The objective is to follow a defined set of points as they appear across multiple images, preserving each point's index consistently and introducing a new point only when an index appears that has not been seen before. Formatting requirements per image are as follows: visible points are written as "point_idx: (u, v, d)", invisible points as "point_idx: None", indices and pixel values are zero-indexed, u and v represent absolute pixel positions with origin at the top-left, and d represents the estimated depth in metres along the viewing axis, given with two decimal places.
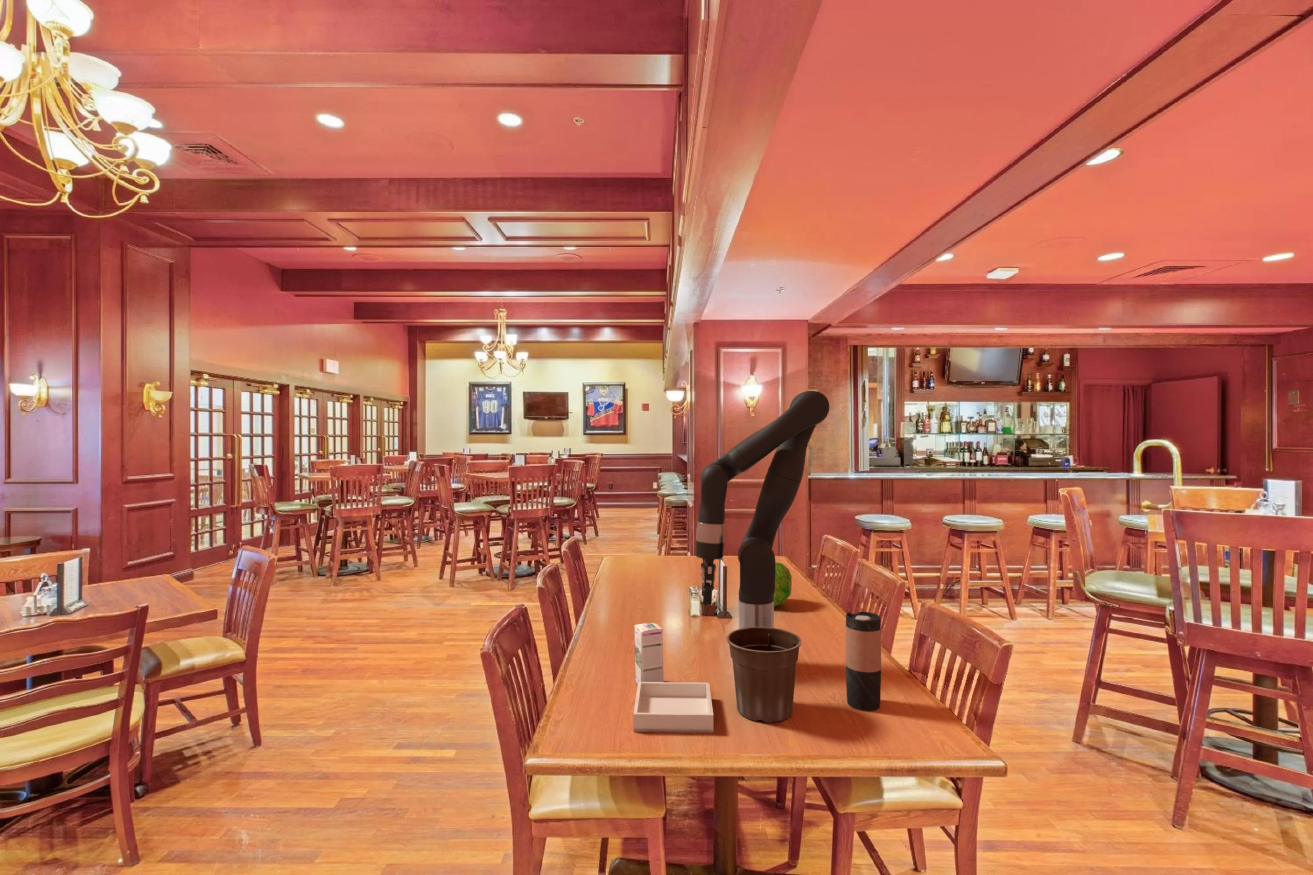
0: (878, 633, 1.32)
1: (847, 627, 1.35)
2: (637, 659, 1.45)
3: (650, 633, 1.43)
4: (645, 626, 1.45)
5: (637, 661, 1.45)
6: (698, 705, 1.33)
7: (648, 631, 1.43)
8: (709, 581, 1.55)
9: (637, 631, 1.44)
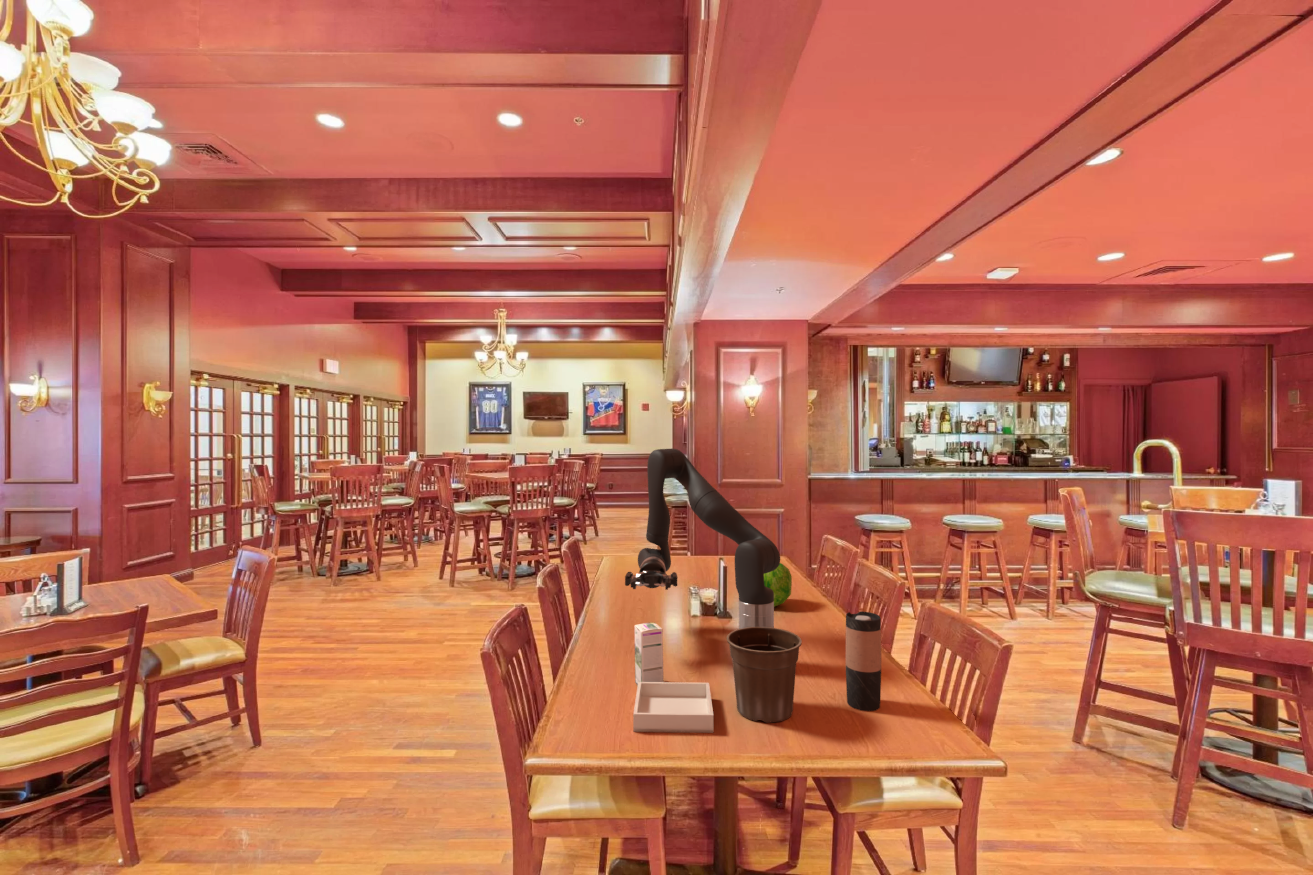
0: (878, 633, 1.32)
1: (847, 627, 1.35)
2: (637, 659, 1.45)
3: (650, 633, 1.43)
4: (645, 626, 1.45)
5: (637, 661, 1.45)
6: (698, 705, 1.33)
7: (648, 631, 1.43)
8: (637, 578, 1.63)
9: (637, 631, 1.44)
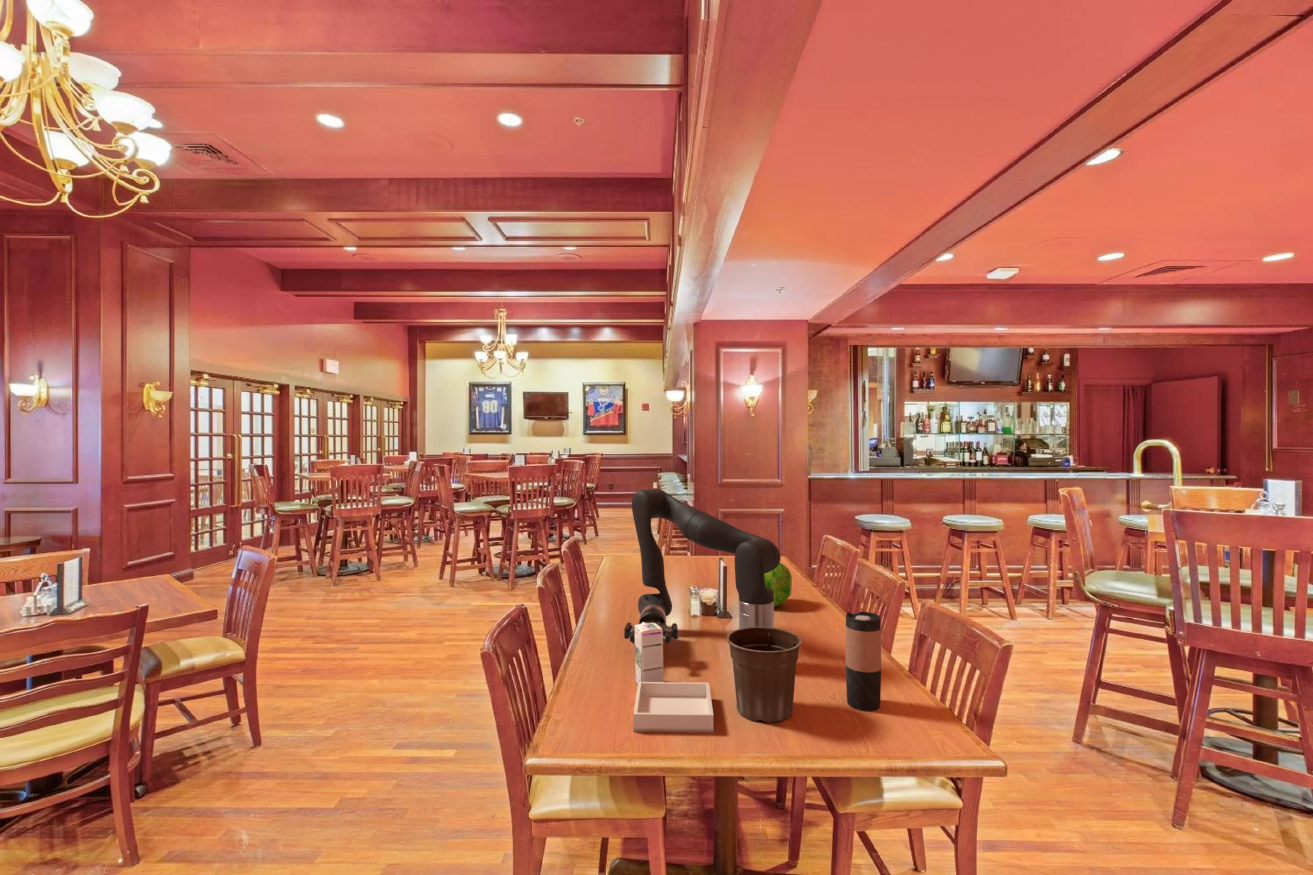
0: (878, 633, 1.32)
1: (847, 627, 1.35)
2: (637, 659, 1.45)
3: (650, 633, 1.43)
4: (645, 626, 1.45)
5: (637, 661, 1.45)
6: (698, 705, 1.33)
7: (648, 631, 1.43)
8: None
9: (637, 631, 1.44)
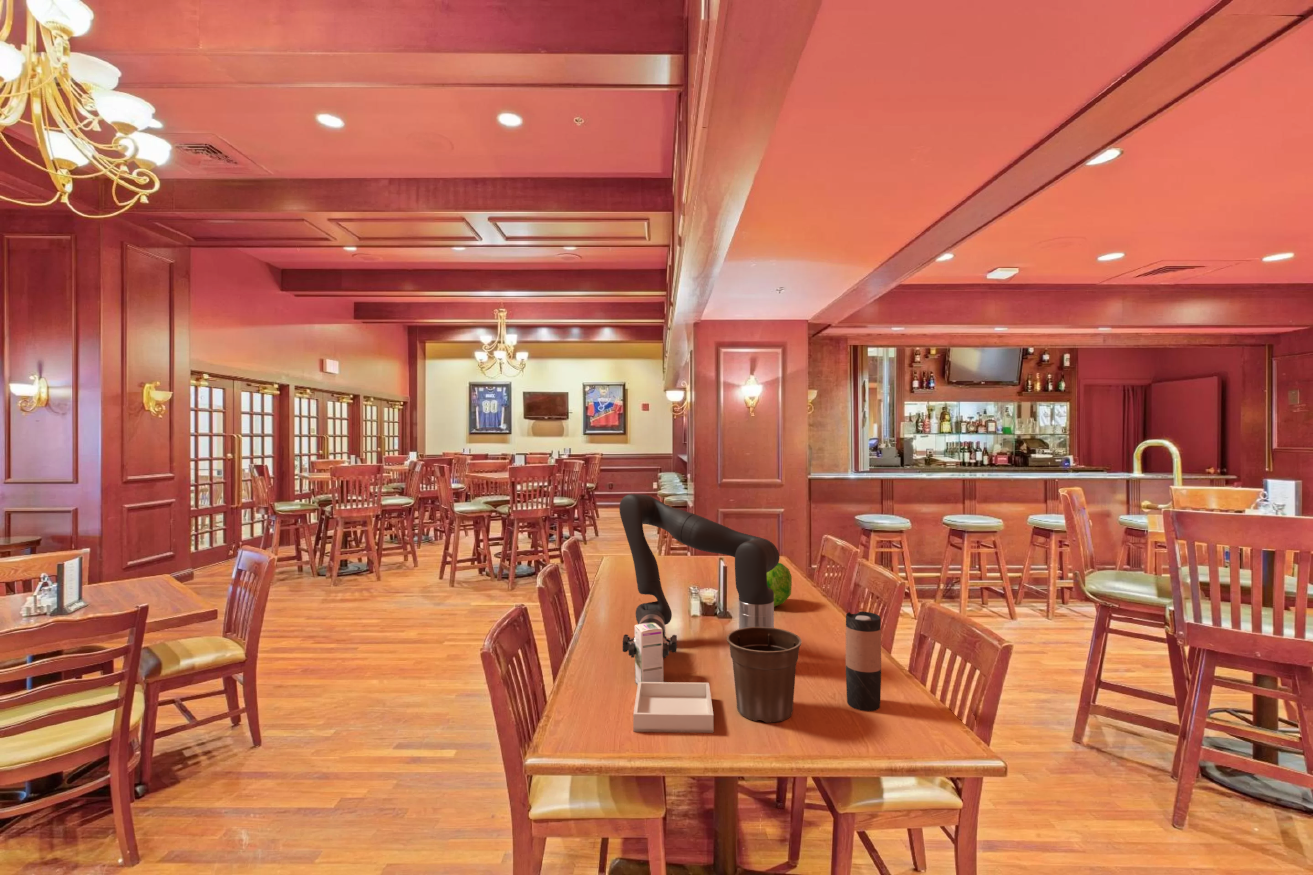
0: (878, 633, 1.32)
1: (847, 627, 1.35)
2: (637, 659, 1.45)
3: (650, 633, 1.43)
4: (645, 626, 1.45)
5: (637, 660, 1.45)
6: (698, 705, 1.33)
7: (648, 631, 1.43)
8: None
9: (637, 631, 1.44)
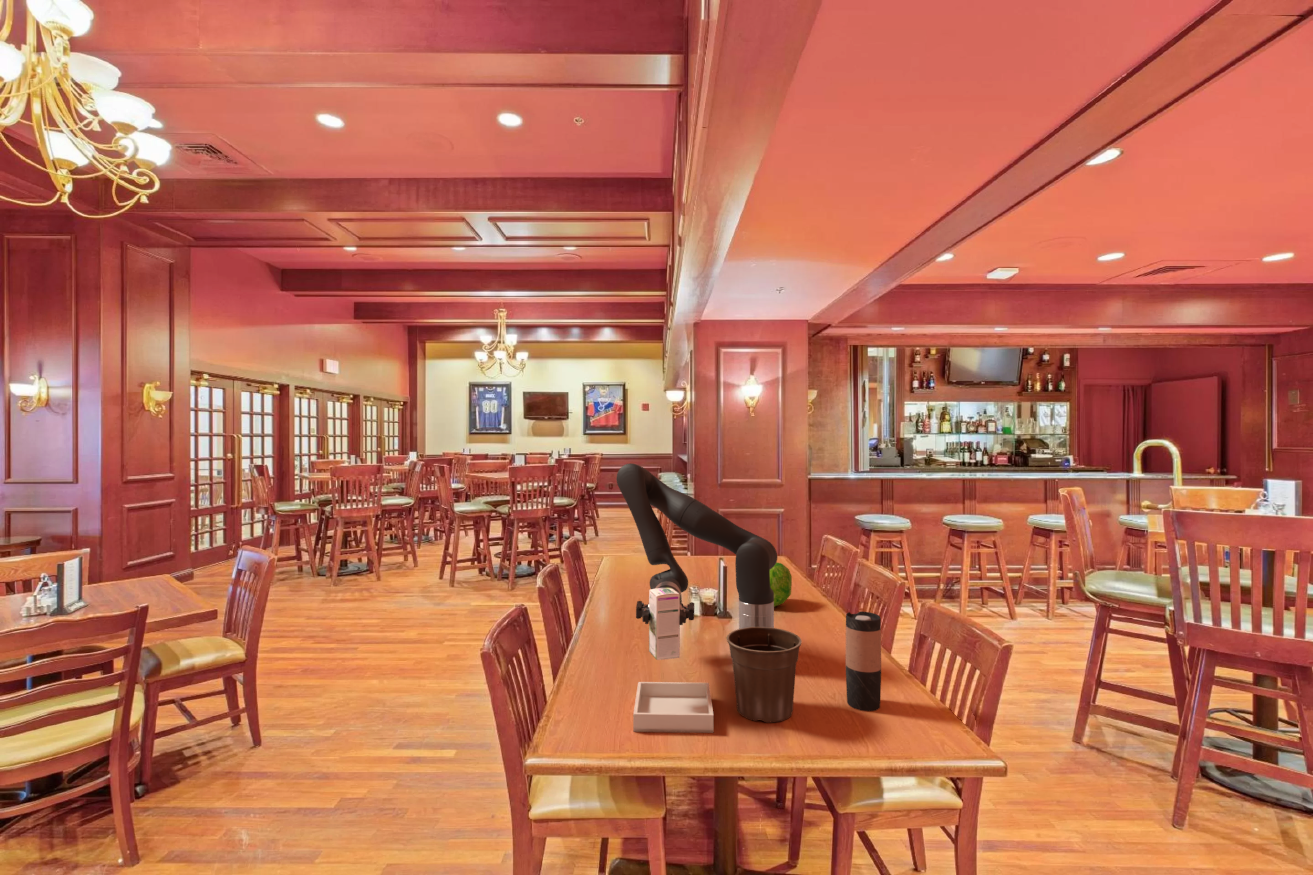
0: (878, 633, 1.32)
1: (847, 627, 1.35)
2: (651, 626, 1.34)
3: (666, 597, 1.32)
4: (661, 591, 1.34)
5: (651, 627, 1.34)
6: (698, 705, 1.33)
7: (664, 595, 1.32)
8: None
9: (652, 595, 1.33)
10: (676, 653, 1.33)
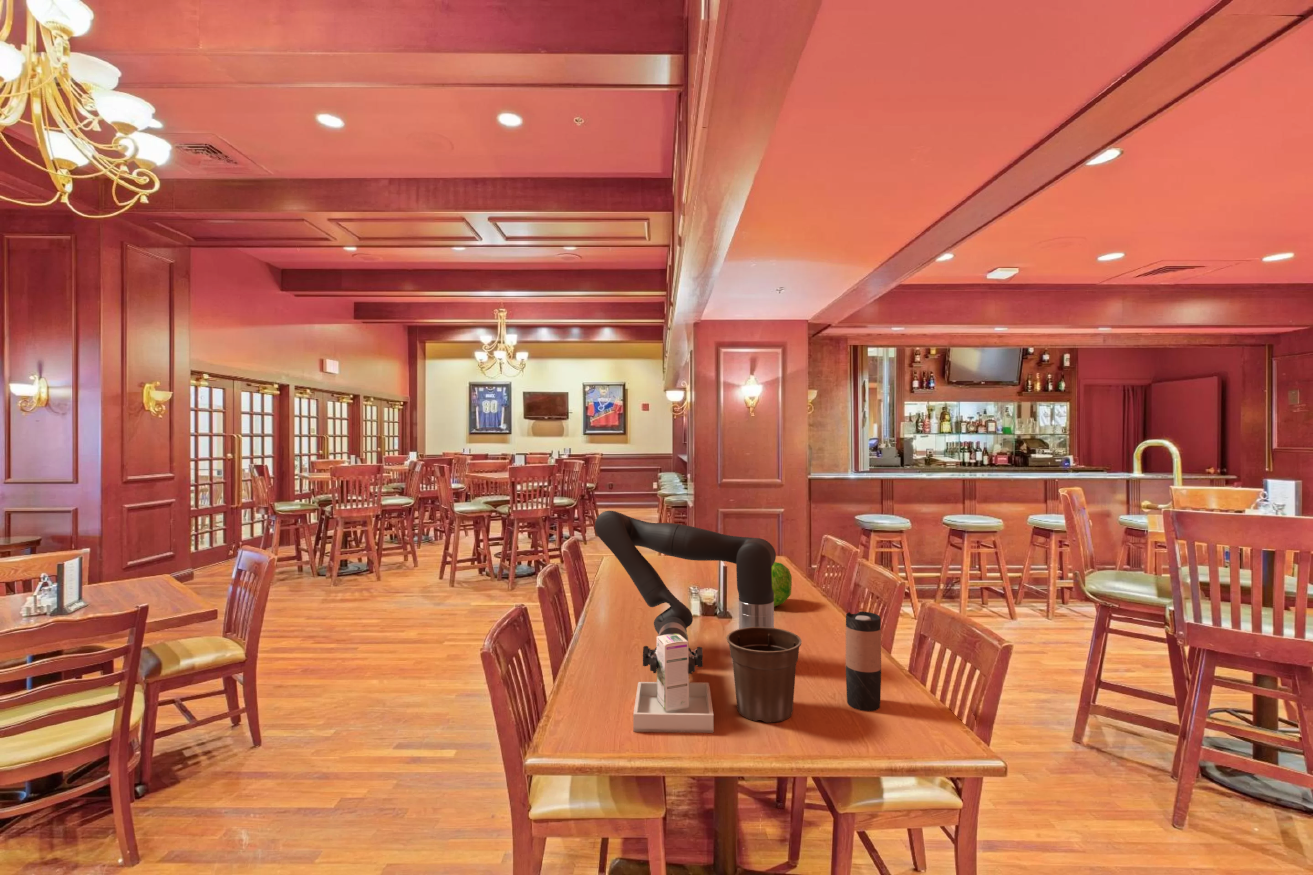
0: (878, 633, 1.32)
1: (847, 627, 1.35)
2: (659, 675, 1.30)
3: (675, 646, 1.28)
4: (669, 638, 1.30)
5: (659, 676, 1.30)
6: (698, 705, 1.33)
7: (672, 644, 1.27)
8: None
9: (660, 643, 1.29)
10: (685, 703, 1.29)
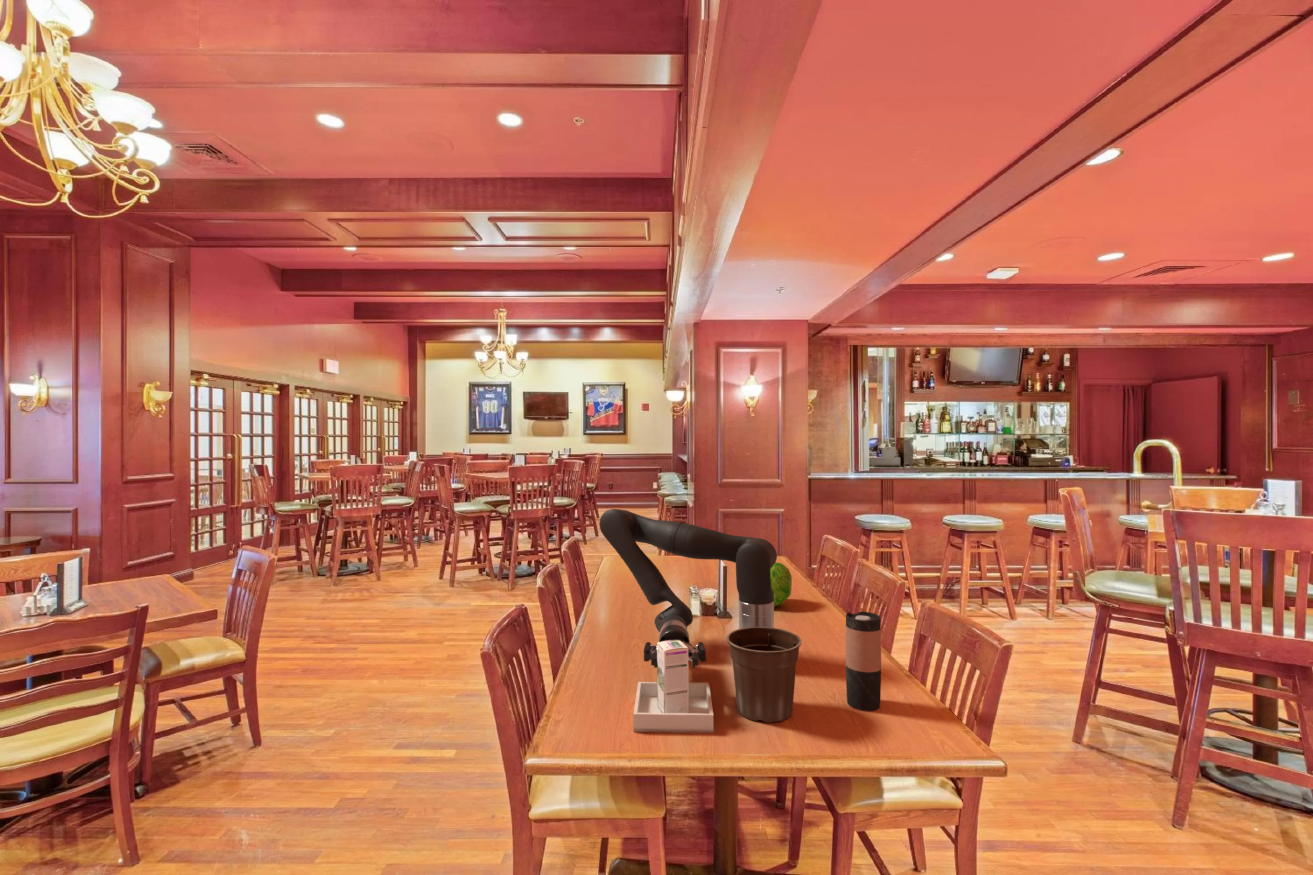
0: (878, 633, 1.32)
1: (847, 627, 1.35)
2: (660, 681, 1.30)
3: (674, 652, 1.28)
4: (669, 644, 1.31)
5: (659, 682, 1.30)
6: (698, 705, 1.33)
7: (672, 650, 1.28)
8: None
9: (660, 649, 1.30)
10: (685, 709, 1.28)
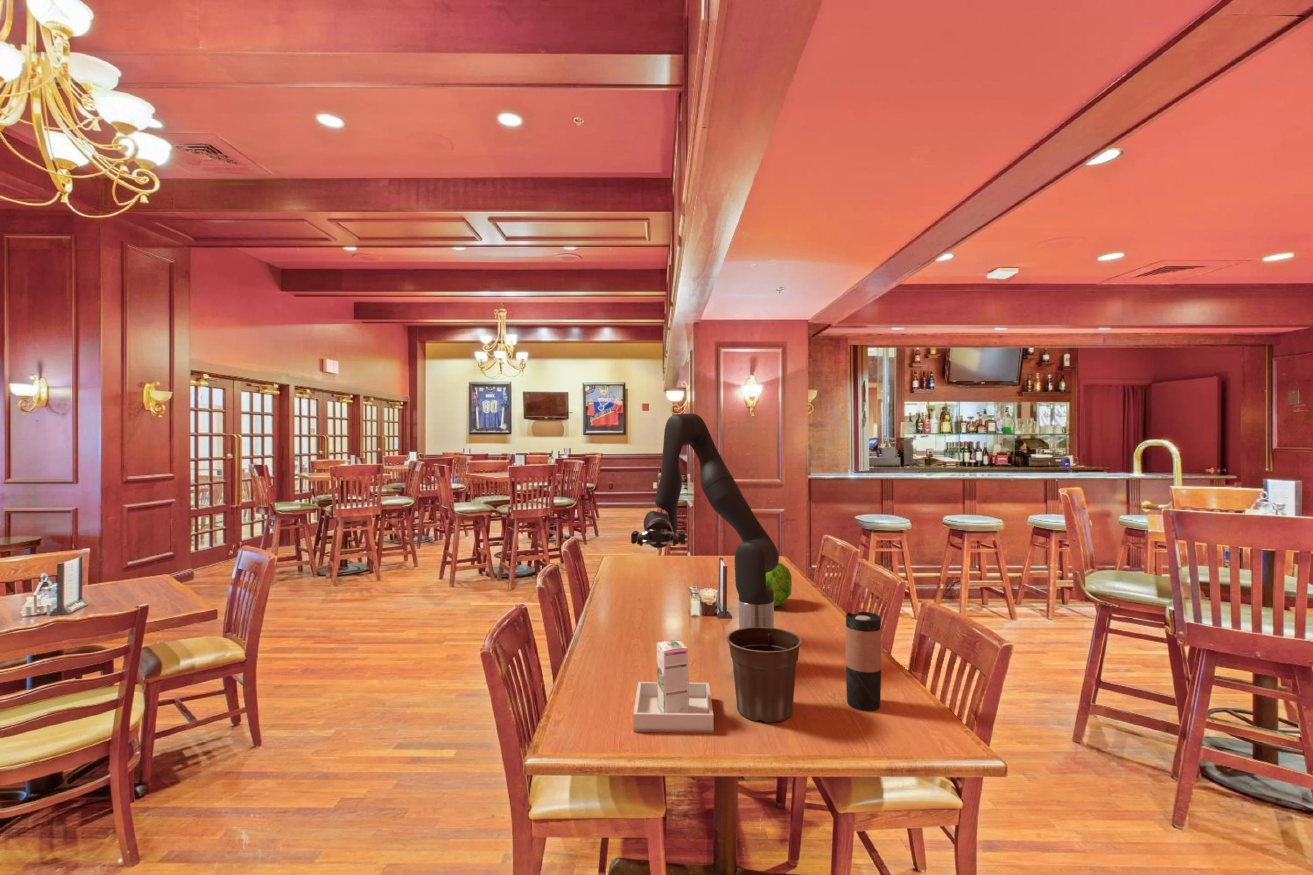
0: (878, 633, 1.32)
1: (847, 627, 1.35)
2: (659, 681, 1.30)
3: (674, 652, 1.28)
4: (669, 644, 1.30)
5: (659, 683, 1.30)
6: (698, 705, 1.33)
7: (671, 650, 1.28)
8: (644, 536, 1.58)
9: (659, 649, 1.30)
10: (685, 710, 1.28)
